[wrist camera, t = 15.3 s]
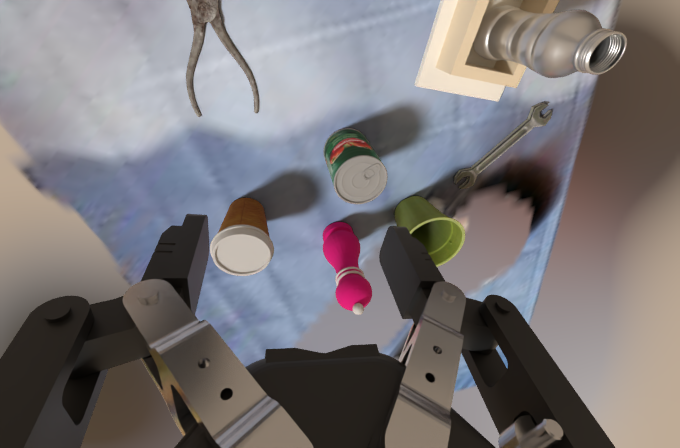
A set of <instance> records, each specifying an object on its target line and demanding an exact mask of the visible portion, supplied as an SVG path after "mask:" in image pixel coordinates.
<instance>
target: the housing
mask: <svg viewBox="0 0 680 448" xmlns="http://www.w3.org/2000/svg"><path fill="white" fill-rule="evenodd" d="M558 2H559V0H441V1H440V4H439V7H438V11H437V14H436V17H435V20H434V24H433V27H432V30H431V33H430V36H429V40H428V43H427V46H426V49H425V52H424V56H423V59H422V62H421V65H420V68H419V72H418V75H417V78H416V81H415V84H414V85H415V86H417V87H423V88H428V89H433V90H439V91H444V92H450V93H455V94H460V95H466V96H471V97H477V98H482V99H487V100H493V101H499V99H500V97H501V95H502V92H503V90H504V88H505V86H509V87H514V88H517V86H518V84H519V82H520V80H521V77H522V75H523V73H524V71H525V69H526V66H524V65H521V64H519V63H516V62H513V61H505V60H499V61H497V60H487V59H484V58H482V57H481V56H480V55H478V54H477V53H476V52H475V50H474V47H473V42H474V39H475V37H476V34H477V31H478V29H479V26H480V24H481V21H482V18H483V16H484V15H485V14H486V13H487V12H488V11H490V10H491V9H494V8H496V7H500V6H505V5H511V6H514V7H517V8H520V9H522V10H523V11H527V12H532V13H540V14H541V13H553V12H554V10H555V8H556V6H557V4H558Z"/></svg>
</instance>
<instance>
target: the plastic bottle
mask: <svg viewBox="0 0 680 448" xmlns="http://www.w3.org/2000/svg"><path fill="white" fill-rule="evenodd" d="M626 45H627V39H626V36H625V35H624V34H623V33H620V32H617V31H612V30H610V29H604V28H602V26H601V24H600V22H599V20H598V18H597V17H596V16H594V15H593V14H591V13H590V12H587V11H585V10H571V11H564V12H557V13H541V14H540V13H532V12H527V11H523V10H522V9H520V8H517V7H514V6H511V5H505V6H500V7H496V8H494V9H491V10H490V11H488V12H487V13H486V14H485V15H484V16H483V18H482V21H481V24H480V26H479V29H478V31H477V34H476V37H475V39H474V42H473V47H474V50H475V52H476V53H477V54H478V55H480V56H481V57H482V58H484V59H487V60H497V61H499V60H505V61H513V62H516V63H519V64H521V65H524V66H526V67H528V68H530V69H531V70H533V71H535V72H536V73H538V74H540V75H542V76H545V77H548V78H558V77H564V76H567V75H570V74H572V73H574V72H577V71H578V72H582V73H590V74H595V75H598V74H602V73H605V72H607V71H608V70H610V69H611V68H612V67H614V66H615V65H616V64H617V62H618V61H619V60H620V59H621V57H622V56H623V54H624V52H625V49H626Z"/></svg>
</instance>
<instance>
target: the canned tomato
mask: <svg viewBox="0 0 680 448" xmlns="http://www.w3.org/2000/svg"><path fill="white" fill-rule="evenodd" d="M324 158H325V161H326V163H327V166H328V169H329V172H330V176H331V179H332V182H333V185H334V188H335V191H336V193H337V195H338V196H339V197H340V198H341V199H342V200H344V201H345V202H348V203H351V204H364V203H367V202H370V201H372V200H374V199H375V198H376V197H378V196H379V195H380V194H381V193H382V191H383V190H384V188H385V186H386V183H387V170H386V168H385V166H384V165H383V163H382V162H381V160H380V159H379V157H378V156H377V154H376V153H375V151H374V149H373V148H372V147H371V145H370V143H369V142H368V140H367V139H366V137H365V136H364V134H362V133H361V132H360V131H358V130H356V129H352V128H344V129H340V130H338V131H336V132H334V133H333V134H332V135H330V137H329V138H328V139H327V141H326V143H325V146H324Z"/></svg>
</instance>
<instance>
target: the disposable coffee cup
mask: <svg viewBox="0 0 680 448" xmlns="http://www.w3.org/2000/svg"><path fill="white" fill-rule="evenodd" d="M210 253H211V256H212V258H213V261H214V263H215V264H216V265H217V266H218V267H219V268H220V269H221V270H222V271H224V272H226V273H229V274H231V275H237V276H248V275H252V274H255V273H258V272H260V271H262V270H263V269H264V268H265V267H266V266H267V265H268V263H269V262H270V260H271V259H272V256H273V253H274V247H273V243H272V241H271V239H270V238H269V232H268V227H267V222H266V217H265V212H264V208H263V206H262V205H261V204H260V203H259V202H258V201H257V200H254V199H252V198H240V199H237V200H235V201H234V202H233V203H232V204H231V205H230V207H229V210H228V212H227V214H226V216H225V218H224V221H223V223H222V225H221V227H220V230H219V232H218V234H217V235H215V237H214V238H213V240H212V242H211V245H210Z"/></svg>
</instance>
